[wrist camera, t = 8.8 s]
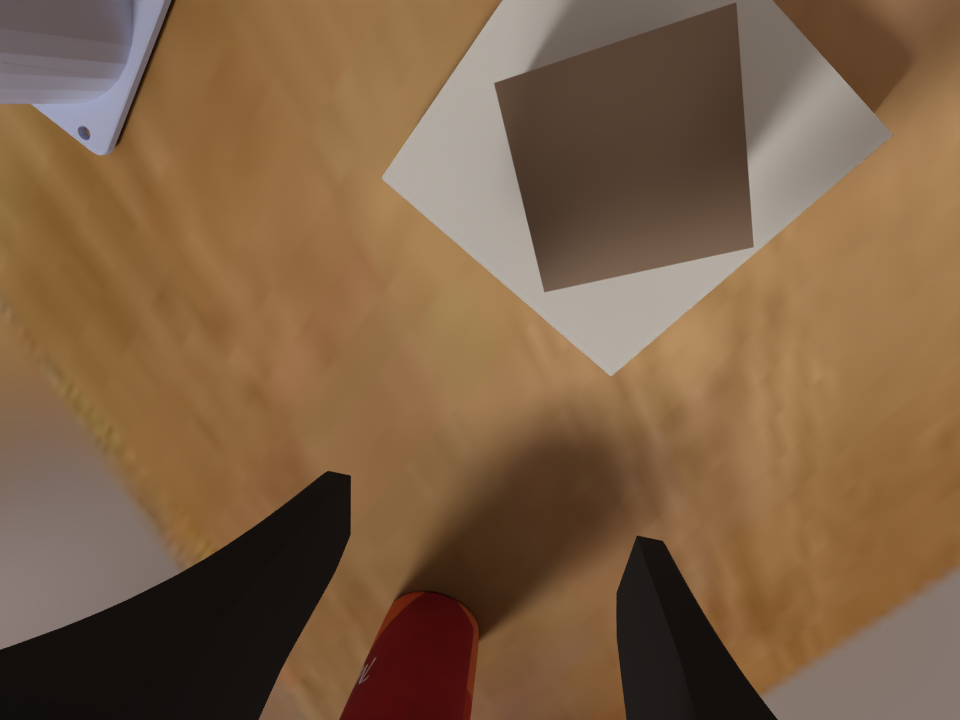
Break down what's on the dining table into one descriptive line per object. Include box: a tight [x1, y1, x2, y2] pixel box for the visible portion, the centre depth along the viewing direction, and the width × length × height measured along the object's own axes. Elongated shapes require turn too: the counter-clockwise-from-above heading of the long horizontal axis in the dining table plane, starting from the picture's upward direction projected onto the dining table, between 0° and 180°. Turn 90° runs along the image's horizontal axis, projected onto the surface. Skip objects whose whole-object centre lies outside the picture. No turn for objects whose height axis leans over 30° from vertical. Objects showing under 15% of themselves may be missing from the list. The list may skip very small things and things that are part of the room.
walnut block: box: [494, 2, 754, 292], centre depth 14 cm, size 5×5×5 cm
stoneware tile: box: [382, 0, 893, 376], centre depth 17 cm, size 11×11×2 cm
